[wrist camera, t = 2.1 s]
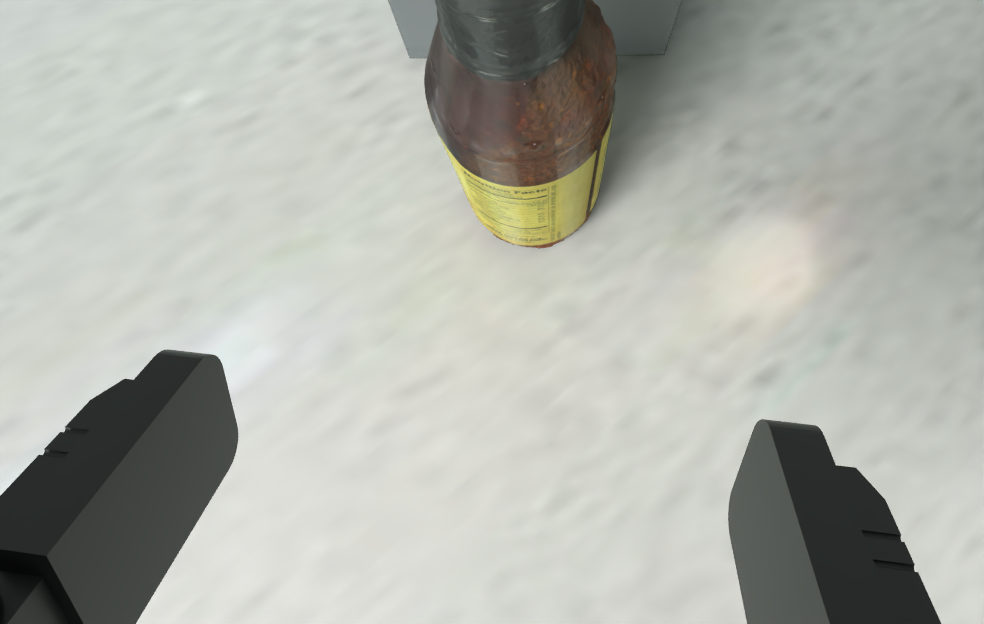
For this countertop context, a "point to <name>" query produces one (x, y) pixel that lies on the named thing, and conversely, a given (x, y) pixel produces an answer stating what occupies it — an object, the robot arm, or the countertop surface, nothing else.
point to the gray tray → (624, 3)
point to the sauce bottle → (524, 110)
